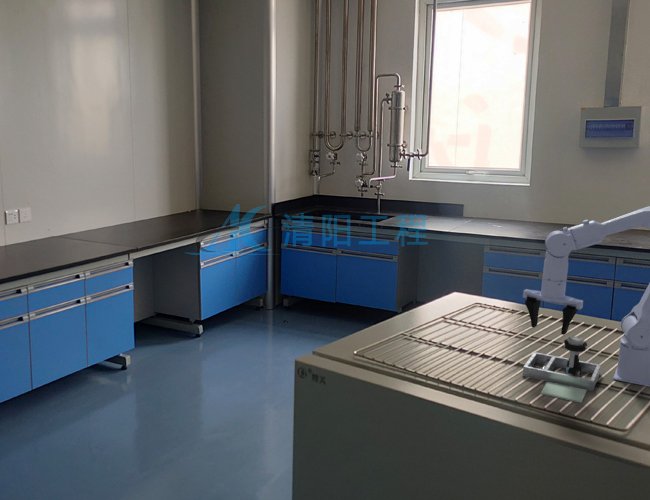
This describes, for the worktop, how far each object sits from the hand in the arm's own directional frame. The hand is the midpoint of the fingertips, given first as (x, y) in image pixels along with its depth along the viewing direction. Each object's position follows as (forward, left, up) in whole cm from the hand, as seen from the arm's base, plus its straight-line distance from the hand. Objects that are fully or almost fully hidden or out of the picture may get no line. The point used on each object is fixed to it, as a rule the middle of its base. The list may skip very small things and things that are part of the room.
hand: (548, 329), depth 155 cm
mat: (-7, +13, -11) cm, 18 cm away
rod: (+1, +2, -10) cm, 10 cm away
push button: (-7, +2, -11) cm, 13 cm away
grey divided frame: (-4, +2, -11) cm, 12 cm away
